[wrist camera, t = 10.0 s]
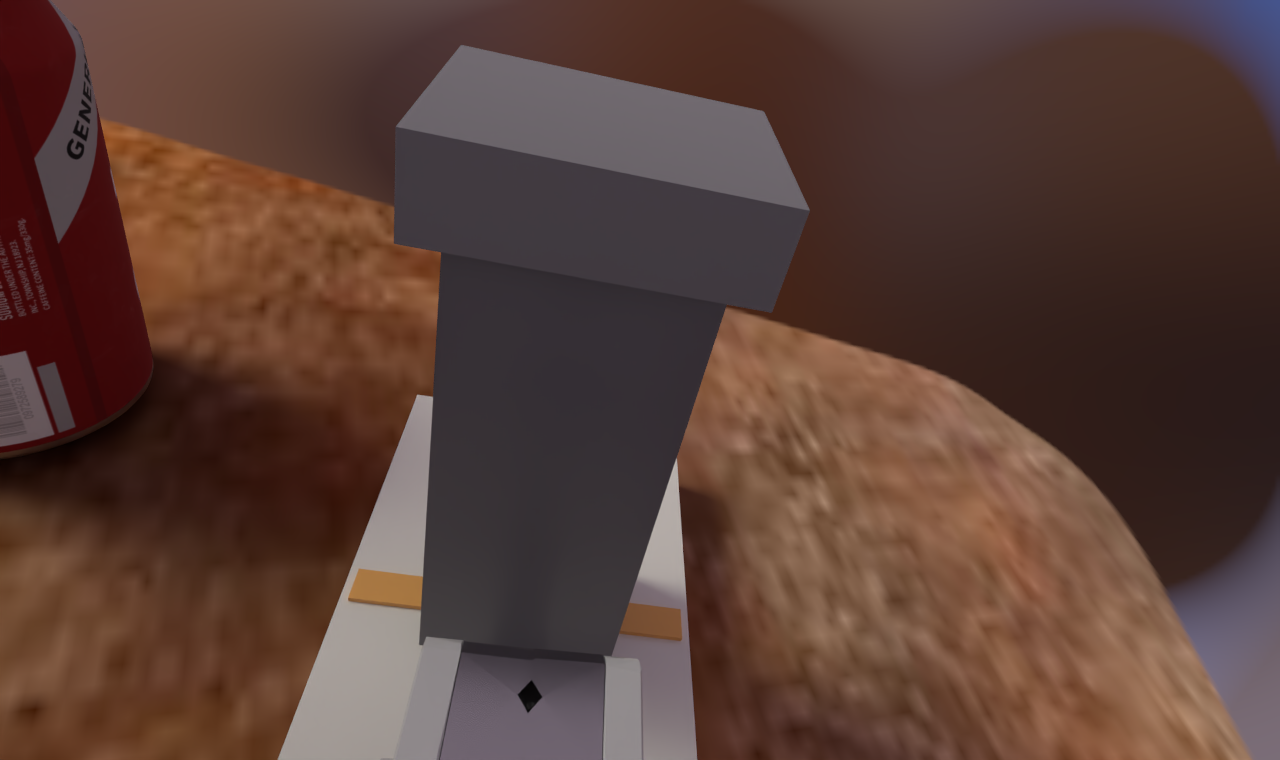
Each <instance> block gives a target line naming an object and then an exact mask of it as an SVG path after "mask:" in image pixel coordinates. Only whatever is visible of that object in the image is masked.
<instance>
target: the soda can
mask: <svg viewBox="0 0 1280 760" xmlns="http://www.w3.org/2000/svg"><path fill="white" fill-rule="evenodd" d="M153 368H154V363H153V356H152V352H151V347H150V343H149V338H148V334H147V329H146V325H145V320H144V316H143V311H142V307H141V302H140V298H139V293H138V289H137V284H136V280H135V275H134V271H133V266H132V262H131V257H130V253H129V248H128V244H127V239H126V235H125V230H124V226H123V221H122V217H121V212H120V208H119V203H118V199H117V194H116V190H115V185H114V181H113V176H112V172H111V167H110V163H109V158H108V154H107V149H106V145H105V140H104V136H103V131H102V127H101V122H100V118H99V113H98V109H97V104H96V100H95V95H94V91H93V86H92V82H91V77H90V73H89V68H88V64H87V59H86V55H85V50H84V46H83V42H82V38H81V36H80V34H79V32H78V31H77V29H76V28H75V26H74V25H73V24H72V23H71V22H70V21H69V20H68V19H67V18H66V16H65V15H64V14H63V13H62V12H61V11H60V10H59V9H58V8H57V7H56V6H55V5H54V3H53V2H52V1H51V0H0V459H7V458H13V457H18V456H24V455H28V454H32V453H37V452H41V451H44V450H48V449H51V448H54V447H58V446H61V445H63V444H66V443H69V442H72V441H74V440H77V439H79V438H81V437H84V436H86V435H88V434H90V433H92V432H94V431H96V430H98V429H100V428H102V427H104V426H105V425H107V424H109V423H110V422H112V421H113V420H115V419H116V418H118V417H119V416H121V415H122V414H123V413H125V412H126V411H127V410H128V409H129V408H130V407H131V406H133V405H134V404H135V403H136V401H137V400H138V399H139V398H140V397H141V396H142V394H143V393H144V392H145V390H146V389H147V387H148V385H149V383H150V381H151V378H152V375H153Z"/></svg>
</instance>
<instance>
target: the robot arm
mask: <svg viewBox="0 0 1280 760" xmlns="http://www.w3.org/2000/svg"><path fill="white" fill-rule="evenodd" d="M380 760H644V757H643V700H642V668H641V665H640V662H639V660H638V659H634V658H624V657H614V656H603V655H601V654H590V653H579V652H568V651H557V650H546V649H531V648H522V647H513V646H504V645H494V644H485V643H476V642H467V641H464V640H456V639H446V638H435V637H426V639H425V642H424V644H423V646H422V649H421V652H420V656H419V660H418V664H417V668H416V672H415V676H414V679H413V683H412V687H411V691H410V695H409V699H408V703H407V707H406V711H405V715H404V719H403V723H402V726H401V730H400V734H399V738H398V742H397V746H396V750H395V754H394V758H381V759H380Z"/></svg>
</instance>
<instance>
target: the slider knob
mask: <svg viewBox="0 0 1280 760" xmlns="http://www.w3.org/2000/svg"><path fill="white" fill-rule="evenodd" d="M808 214H809V208H808V206H807V204H806V202H805V199H804V197H803V195H802V193H801V191H800V189H799V186H798V184H797V182H796V180H795V178H794V176H793V174H792V171H791V169H790V167H789V165H788V163H787V160H786V158H785V156H784V154H783V152H782V150H781V147H780V145H779V143H778V141H777V139H776V137H775V134H774V132H773V130H772V128H771V126H770V124H769V121H768V119H767V117H766V115H765V113H764V111H759V110H755V109H750V108H746V107H741V106H737V105H732V104H728V103H723V102H719V101H714V100H710V99H705V98H700V97H695V96H691V95H687V94H682V93H677V92H673V91H669V90H664V89H659V88H655V87H650V86H646V85H641V84H637V83H632V82H627V81H623V80H618V79H614V78H609V77H605V76H600V75H595V74H591V73H586V72H582V71H577V70H573V69H568V68H564V67H559V66H555V65H550V64H546V63H541V62H536V61H532V60H527V59H522V58H518V57H514V56H509V55H504V54H500V53H495V52H491V51H486V50H482V49H477V48H472V47H468V46H463V45H461V46H460V47H459V49H458V50H457V51H456V52H455V54H454V55H453V56H452V57H451V59H450V60H449V61H448V62H447V64H446V65H445V66H444V67H443V69H442V70H441V71H440V72H439V73H438V75H437V76H436V77H435V78H434V80H433V81H432V82H431V84H430V85H429V86H428V88H427V89H426V90H425V91H424V92H423V93H422V95H421V96H420V97H419V98H418V100H417V101H416V102H415V104H414V105H413V106H412V107H411V108H410V110H409V111H408V112H407V113H406V115H405V116H404V117H403V118H402V120H401V121H400V122H399V123H398V125H397V126H396V148H395V214H394V244H399V245H404V246H410V247H415V248H421V249H426V250H432V251H437V252H441V266H440V284H439V302H438V319H437V337H436V354H435V372H434V389H433V407H432V425H431V442H430V460H429V477H428V495H427V513H426V530H425V548H424V565H423V583H422V600H421V618H420V636H419V645H423V644H424V642H425V639H426V637H435V638H446V639H456V640H464V641H467V642H476V643H485V644H494V645H504V646H513V647H522V648H531V649H546V650H557V651H568V652H579V653H590V654H601V655H603V656H612V653H613V650H614V647H615V644H616V641H617V638H618V635H619V632H620V629H621V626H622V623H623V620H624V617H625V614H626V611H627V608H628V605H629V601H630V598H631V595H632V592H633V589H634V586H635V583H636V580H637V577H638V574H639V571H640V568H641V565H642V562H643V559H644V556H645V553H646V550H647V546H648V543H649V540H650V537H651V534H652V531H653V528H654V525H655V522H656V519H657V516H658V513H659V510H660V507H661V504H662V501H663V498H664V495H665V491H666V488H667V485H668V482H669V479H670V476H671V473H672V470H673V467H674V464H675V461H676V458H677V455H678V452H679V449H680V446H681V443H682V440H683V436H684V433H685V430H686V427H687V424H688V421H689V418H690V415H691V412H692V409H693V406H694V403H695V400H696V397H697V394H698V391H699V388H700V385H701V381H702V378H703V375H704V372H705V369H706V366H707V363H708V360H709V357H710V354H711V351H712V348H713V345H714V342H715V339H716V336H717V333H718V330H719V326H720V323H721V320H722V317H723V314H724V311H725V308H726V305H727V304H728V305H733V306H738V307H744V308H749V309H755V310H760V311H766V312H772V311H773V308H774V305H775V303H776V300H777V297H778V294H779V291H780V289H781V286H782V284H783V281H784V278H785V276H786V273H787V270H788V268H789V265H790V262H791V259H792V257H793V254H794V252H795V249H796V246H797V243H798V241H799V238H800V235H801V233H802V230H803V227H804V225H805V222H806V219H807V217H808Z"/></svg>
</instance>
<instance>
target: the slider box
mask: <svg viewBox="0 0 1280 760" xmlns="http://www.w3.org/2000/svg"><path fill="white" fill-rule="evenodd" d="M432 407H433V397H429V396H423V395H417V397H416V400H415V403H414V405H413V408H412V411H411V413H410V416H409V418H408V421H407V424H406V426H405V429H404V431H403V434H402V437H401V439H400V442H399V444H398V447H397V450H396V452H395V455H394V457H393V460H392V463H391V465H390V468H389V471H388V473H387V476H386V478H385V481H384V484H383V486H382V489H381V491H380V494H379V497H378V499H377V502H376V504H375V507H374V510H373V512H372V515H371V517H370V520H369V523H368V525H367V528H366V531H365V533H364V536H363V538H362V541H361V544H360V546H359V549H358V551H357V554H356V557H355V559H354V562H353V564H352V567H351V570H350V572H349V575H348V578H347V580H346V583H345V585H344V588H343V591H342V593H341V596H340V598H339V601H338V604H337V606H336V609H335V611H334V614H333V617H332V619H331V622H330V624H329V627H328V630H327V632H326V635H325V638H324V640H323V643H322V645H321V648H320V651H319V653H318V656H317V658H316V661H315V664H314V666H313V669H312V671H311V674H310V677H309V679H308V682H307V684H306V687H305V690H304V692H303V695H302V698H301V700H300V703H299V705H298V708H297V711H296V713H295V716H294V718H293V721H292V724H291V726H290V729H289V731H288V734H287V737H286V739H285V742H284V745H283V747H282V750H281V752H280V755H279V758H278V760H380V759H381V758H394V754H395V750H396V746H397V742H398V738H399V734H400V730H401V726H402V723H403V719H404V715H405V711H406V707H407V703H408V699H409V695H410V691H411V687H412V683H413V679H414V676H415V672H416V668H417V664H418V660H419V656H420V652H421V649H422V646H423V645H419V636H420V618H421V600H422V583H423V565H424V548H425V530H426V513H427V495H428V477H429V460H430V442H431V425H432ZM612 656H614V657H624V658H634V659H638V660H639V662H640V665H641V668H642V700H643V757H644V760H697V748H696V734H695V719H694V704H693V690H692V675H691V660H690V646H689V631H688V616H687V601H686V587H685V572H684V557H683V543H682V528H681V513H680V498H679V484H678V469H677V458H676V461H675V464H674V467H673V470H672V473H671V476H670V479H669V482H668V485H667V488H666V491H665V495H664V498H663V501H662V504H661V507H660V510H659V513H658V516H657V519H656V522H655V525H654V528H653V531H652V534H651V537H650V540H649V543H648V546H647V550H646V553H645V556H644V559H643V562H642V565H641V568H640V571H639V574H638V577H637V580H636V583H635V586H634V589H633V592H632V595H631V598H630V601H629V605H628V608H627V611H626V614H625V617H624V620H623V623H622V626H621V629H620V632H619V635H618V638H617V641H616V644H615V647H614V650H613V653H612Z"/></svg>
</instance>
